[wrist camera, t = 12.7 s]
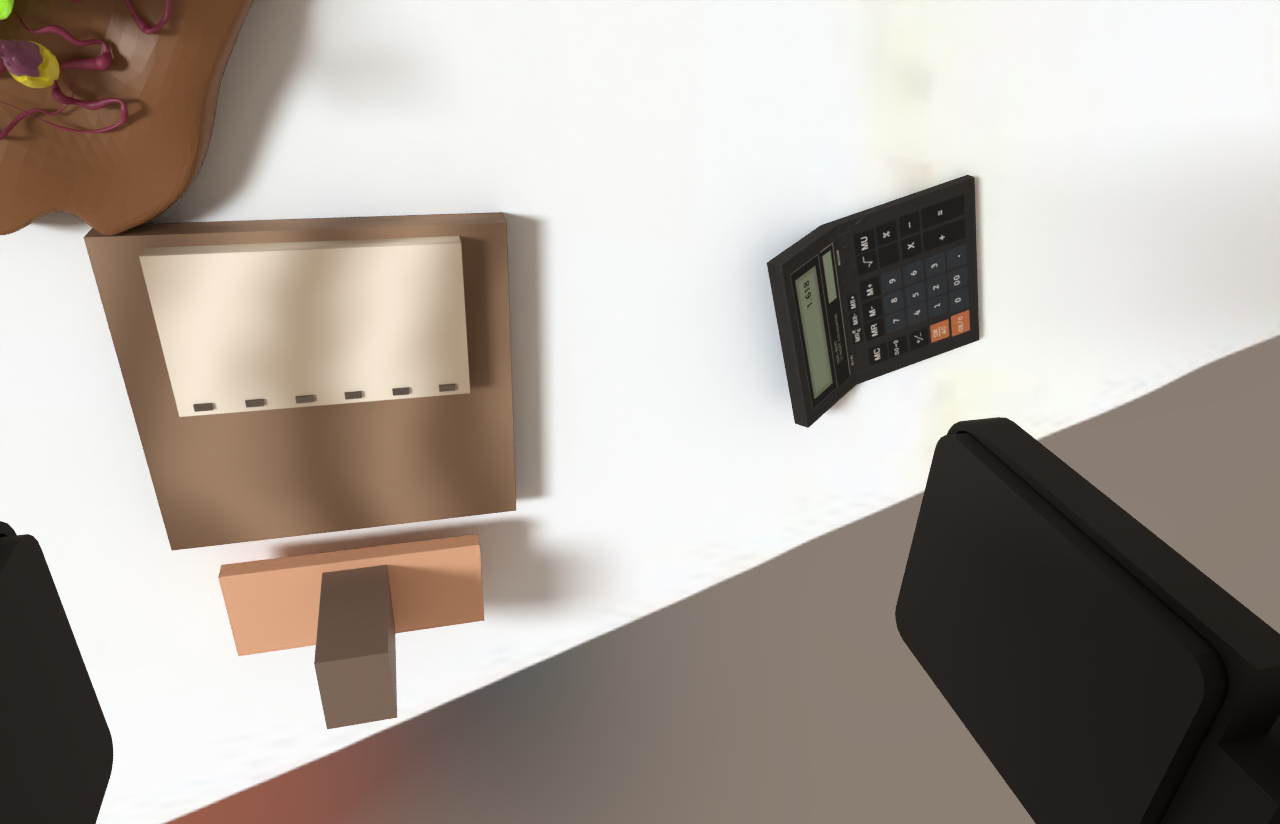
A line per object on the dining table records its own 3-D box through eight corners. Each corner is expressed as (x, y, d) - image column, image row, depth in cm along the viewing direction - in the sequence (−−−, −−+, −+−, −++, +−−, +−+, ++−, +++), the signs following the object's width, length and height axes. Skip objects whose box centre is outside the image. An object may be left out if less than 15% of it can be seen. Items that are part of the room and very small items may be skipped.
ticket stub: (478, 533, 44) (493, 628, 38) (482, 608, 46) (497, 708, 40) (221, 565, 41) (195, 672, 35) (240, 643, 43) (219, 755, 37)
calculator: (970, 333, 48) (1002, 356, 46) (778, 403, 47) (800, 430, 45) (964, 173, 43) (1000, 189, 41) (749, 247, 42) (772, 268, 40)
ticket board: (502, 212, 38) (509, 230, 36) (512, 493, 45) (519, 523, 43) (94, 225, 34) (75, 247, 32) (178, 531, 41) (167, 565, 39)
